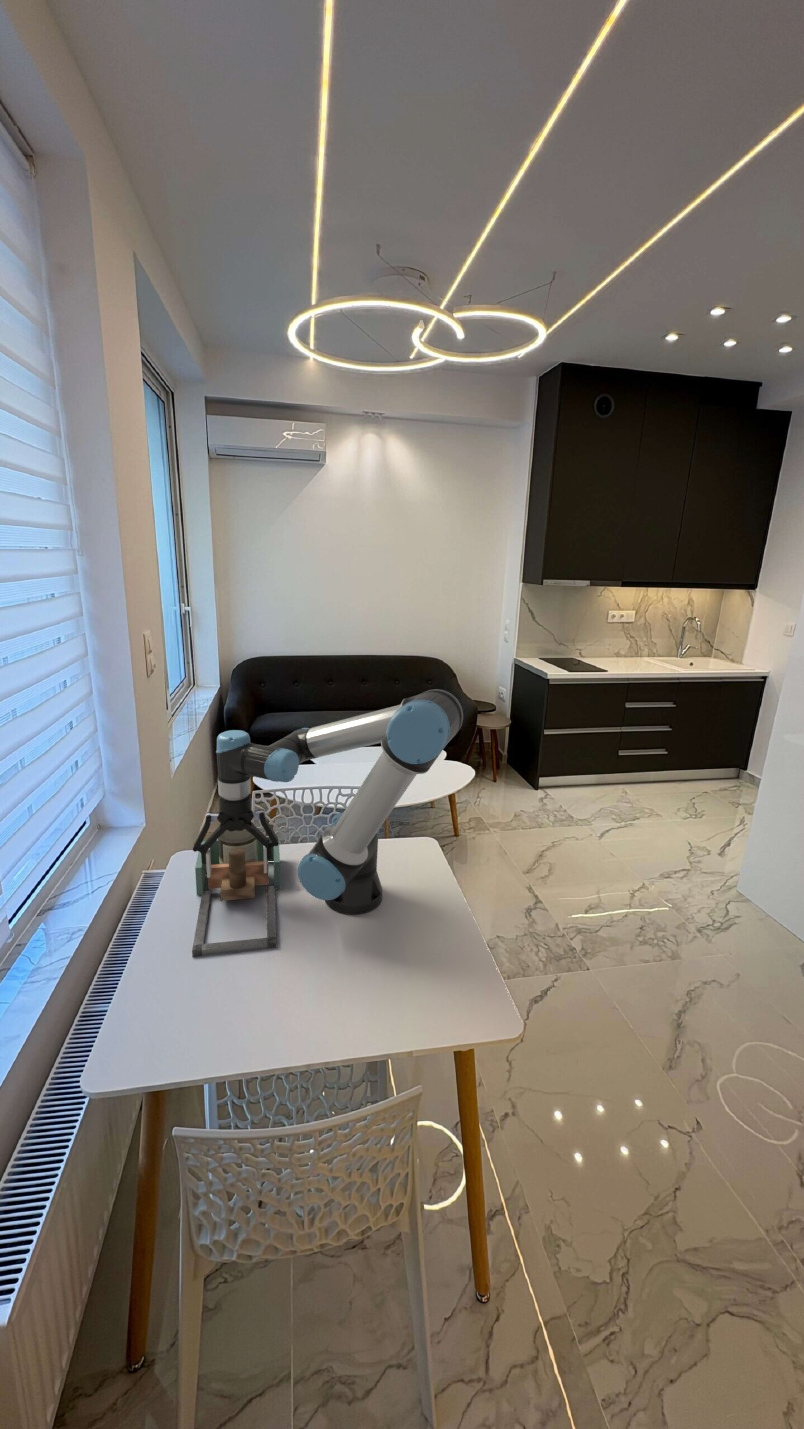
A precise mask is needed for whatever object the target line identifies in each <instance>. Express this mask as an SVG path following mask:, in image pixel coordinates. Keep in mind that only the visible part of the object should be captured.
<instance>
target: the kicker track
mask: <svg viewBox="0 0 804 1429" xmlns="http://www.w3.org/2000/svg"><path fill="white" fill-rule="evenodd" d="M275 890H276V889H275V887H274V885H270V886H269V885H267V886H266V937H262V938H252V939H251V938H250V939H249V938H248V939H240V940H231V941H230V940H229V941H219V942H210V943H209V942H208V943H205V938H206V931H207V925H208V924H207V923H208V916H209V911H210V906H211V904H210V903H211V897H212V895H211V893H212V892H211V890H206V891H205V890H204V891H203V892H202V895H200V896H201V897H200V902H199V908H198V916H197V920H196V927H195V932H194V938H193V943H192V950H191V955H192V956H191V957H192V958H194V957H203V956H211V955H212V956H213V955H221V954H233V953H241V952H250V951H251V952H252V951H261V950H269V949H270V950H271V949H276V948H277V926H276V925H277V924H276V923H277V922H276V894H275V893H276V892H275Z"/></svg>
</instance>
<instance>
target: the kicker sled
mask: <svg viewBox="0 0 804 1429" xmlns="http://www.w3.org/2000/svg"><path fill="white" fill-rule="evenodd" d="M228 855H229V864H215V865H211V876H210V877H209V878H207V883H208V884H207V886H208V887H207V888H208V890H212V889H213V890H214V889H220V901H237V900H245V899H247V900H248V899H255V894H256V893H255V892H256V891H255V890H256V888H255V887H256V886H263V885H269V863H268V861H267V873H264V861H257V862H245V850H244V849H241V848H236V849H232V850H230V851H229V853H228Z"/></svg>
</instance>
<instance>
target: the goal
mask: <svg viewBox="0 0 804 1429" xmlns="http://www.w3.org/2000/svg"><path fill="white" fill-rule="evenodd" d="M265 836H266V837H267V838H268V839H269V840H270V838H269V836H268V835H265ZM276 836H277V837H278V841H279V842H280V840H279V839H280V838H279V836H280V835H279V834H276ZM206 840H207V839H203V841H202V843H201V845H202V844H204V843H205V842H206ZM197 852H198V853H197V858H196V862H195V866H194V867H195V868H194V869H195V872H194V873H195V890H196V891H195V892H196V896H197V895H198V896H202V892H204V891H205V886H204V885H206V880H205V878H207V874H206V872H207V867H206V864H202V860H201V853H200V852H199V851H197ZM280 855H281V854H280V844H279V845H278V846H274V847H272V848H271V859H270V860H267V861H274V862H273V883H274V884H273V886H274V887H275V890H280V889H281V859H280ZM210 857H211V865H215V864H219V843H218V839H217V840H216V841H215V842H214V844H213V845H212V846H211V847H210ZM258 861H264V853H263V844H262V843H261V842H260V841H258Z"/></svg>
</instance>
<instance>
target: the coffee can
mask: <svg viewBox="0 0 804 1429" xmlns="http://www.w3.org/2000/svg"><path fill="white" fill-rule="evenodd" d="M218 843H219V864H229V855H228V853H229V851H230V850H232V849H236V848H241V849H244V850H245V862H257V861H258V840H257V839H256V838H255V837H254V836H253V835H252V834H251V833H250V832H248V831H247V830H246V829H244V830H243V831H237V830H235V831H230V832H229V830H226V831H225V832H224V833H223V834H221V836H220V837H219V838H218Z"/></svg>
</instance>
